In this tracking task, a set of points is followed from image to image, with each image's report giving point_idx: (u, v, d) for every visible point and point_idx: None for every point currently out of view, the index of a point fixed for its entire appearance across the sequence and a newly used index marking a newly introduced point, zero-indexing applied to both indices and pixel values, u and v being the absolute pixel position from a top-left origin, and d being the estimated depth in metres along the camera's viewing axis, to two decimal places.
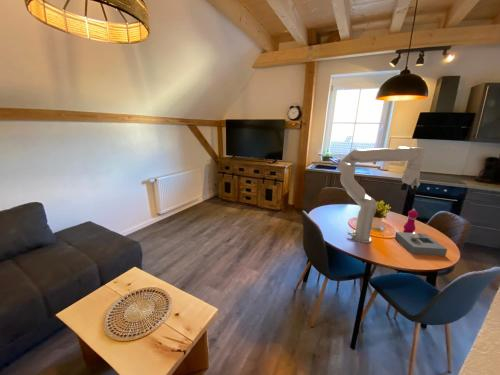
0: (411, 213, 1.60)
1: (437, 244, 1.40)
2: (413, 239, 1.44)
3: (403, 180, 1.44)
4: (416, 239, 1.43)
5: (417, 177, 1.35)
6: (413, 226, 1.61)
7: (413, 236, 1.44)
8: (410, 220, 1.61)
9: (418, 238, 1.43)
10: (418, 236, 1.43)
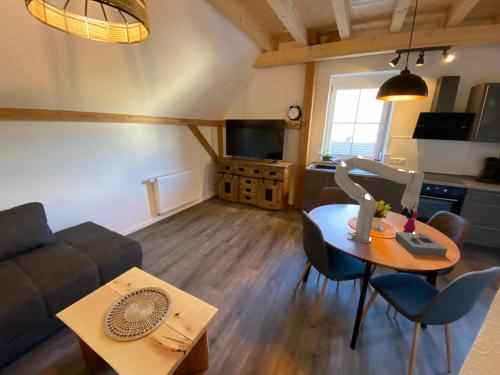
0: None
1: (437, 244, 1.40)
2: (413, 239, 1.44)
3: (402, 203, 1.42)
4: (416, 239, 1.43)
5: (416, 201, 1.34)
6: (413, 226, 1.61)
7: (413, 236, 1.44)
8: (410, 220, 1.61)
9: (418, 238, 1.43)
10: (418, 236, 1.43)
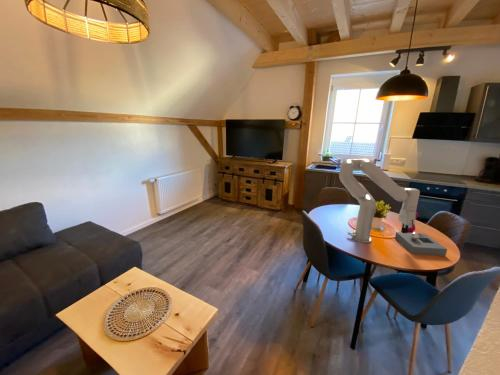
0: None
1: (437, 244, 1.40)
2: (413, 239, 1.44)
3: (399, 219, 1.45)
4: (416, 239, 1.43)
5: (413, 218, 1.37)
6: (413, 226, 1.61)
7: (413, 236, 1.44)
8: None
9: (418, 238, 1.43)
10: (418, 236, 1.43)
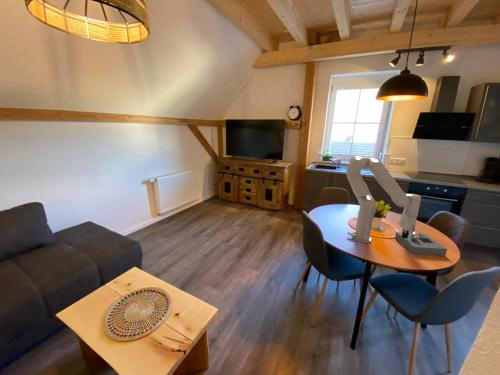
0: None
1: (437, 244, 1.40)
2: (413, 239, 1.44)
3: (400, 224, 1.46)
4: (416, 239, 1.43)
5: (413, 224, 1.38)
6: None
7: (413, 236, 1.44)
8: None
9: (418, 238, 1.43)
10: (418, 236, 1.43)
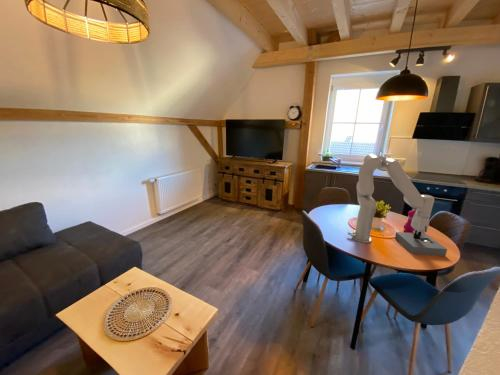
0: (411, 213, 1.60)
1: (437, 244, 1.40)
2: None
3: (412, 225, 1.46)
4: None
5: (426, 225, 1.37)
6: None
7: None
8: (410, 220, 1.61)
9: None
10: None
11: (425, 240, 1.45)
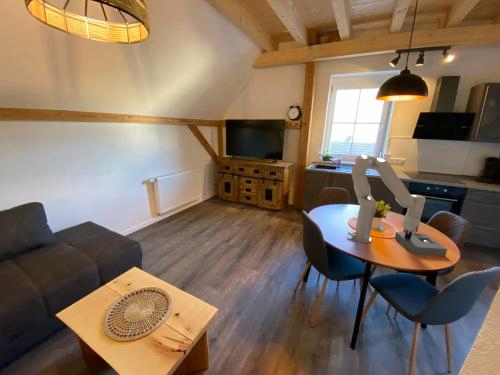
0: None
1: (437, 244, 1.40)
2: None
3: (403, 225, 1.46)
4: None
5: (417, 225, 1.38)
6: None
7: None
8: None
9: None
10: None
11: (424, 240, 1.45)
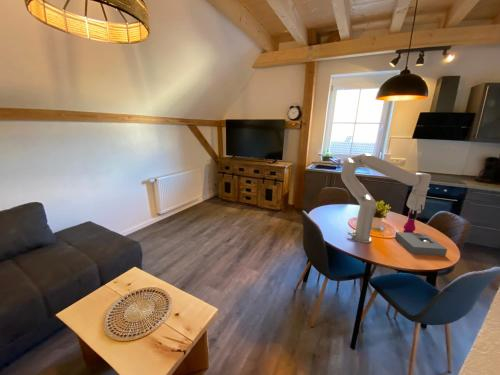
0: None
1: (437, 244, 1.40)
2: None
3: (408, 205, 1.42)
4: None
5: (422, 203, 1.34)
6: (413, 226, 1.61)
7: None
8: (410, 220, 1.61)
9: None
10: None
11: (424, 240, 1.45)
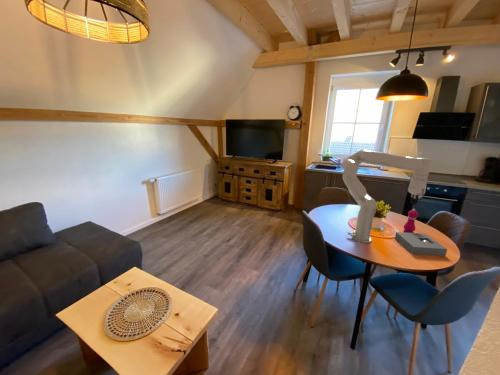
0: (411, 213, 1.60)
1: (437, 244, 1.40)
2: None
3: (409, 190, 1.44)
4: None
5: (423, 188, 1.35)
6: (413, 226, 1.61)
7: None
8: (410, 220, 1.61)
9: None
10: None
11: (423, 240, 1.46)
